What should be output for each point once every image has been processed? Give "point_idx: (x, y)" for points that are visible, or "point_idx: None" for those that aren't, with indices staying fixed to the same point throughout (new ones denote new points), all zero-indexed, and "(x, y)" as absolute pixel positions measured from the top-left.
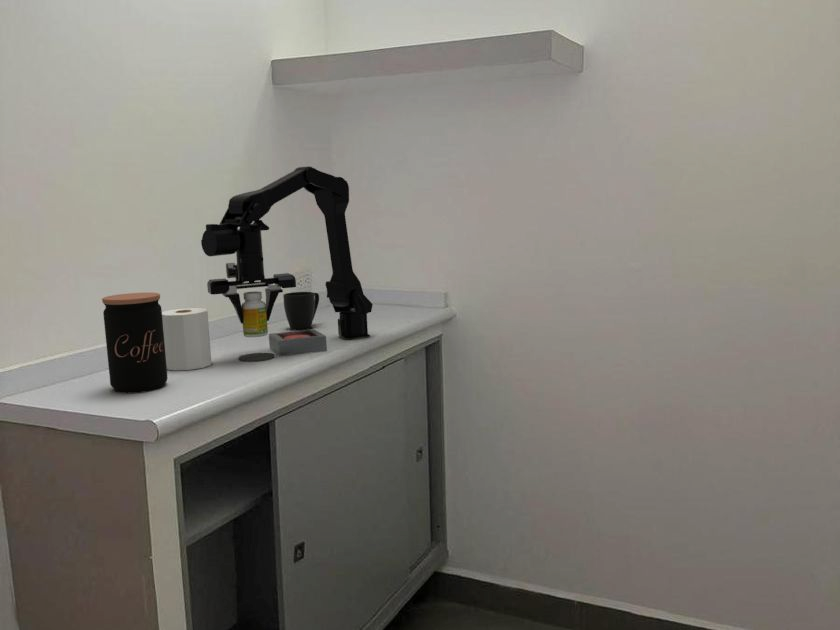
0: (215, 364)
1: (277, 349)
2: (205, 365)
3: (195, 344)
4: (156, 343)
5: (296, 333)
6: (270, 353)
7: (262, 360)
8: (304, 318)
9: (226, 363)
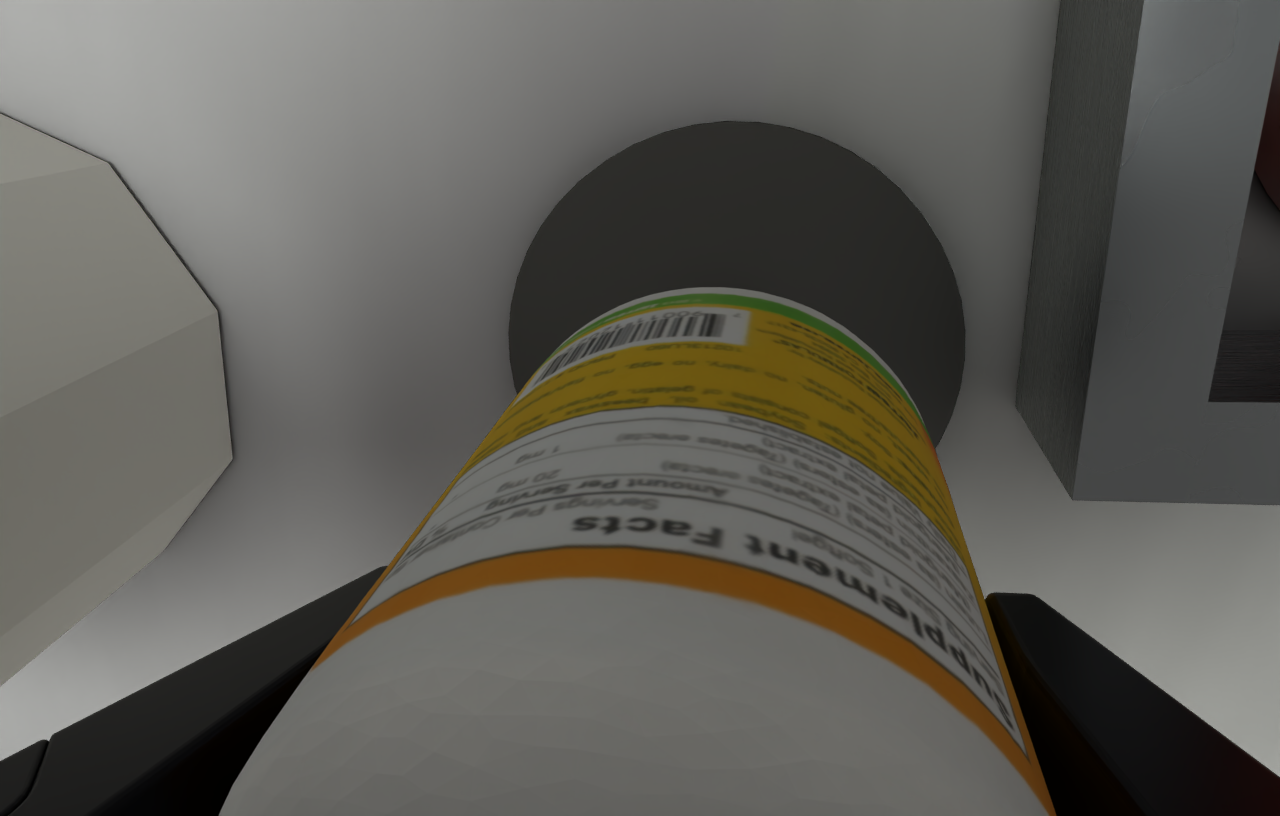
0: (272, 439)
1: (1046, 315)
2: (178, 528)
3: None
4: None
5: None
6: (934, 280)
7: None
8: None
9: (381, 453)
